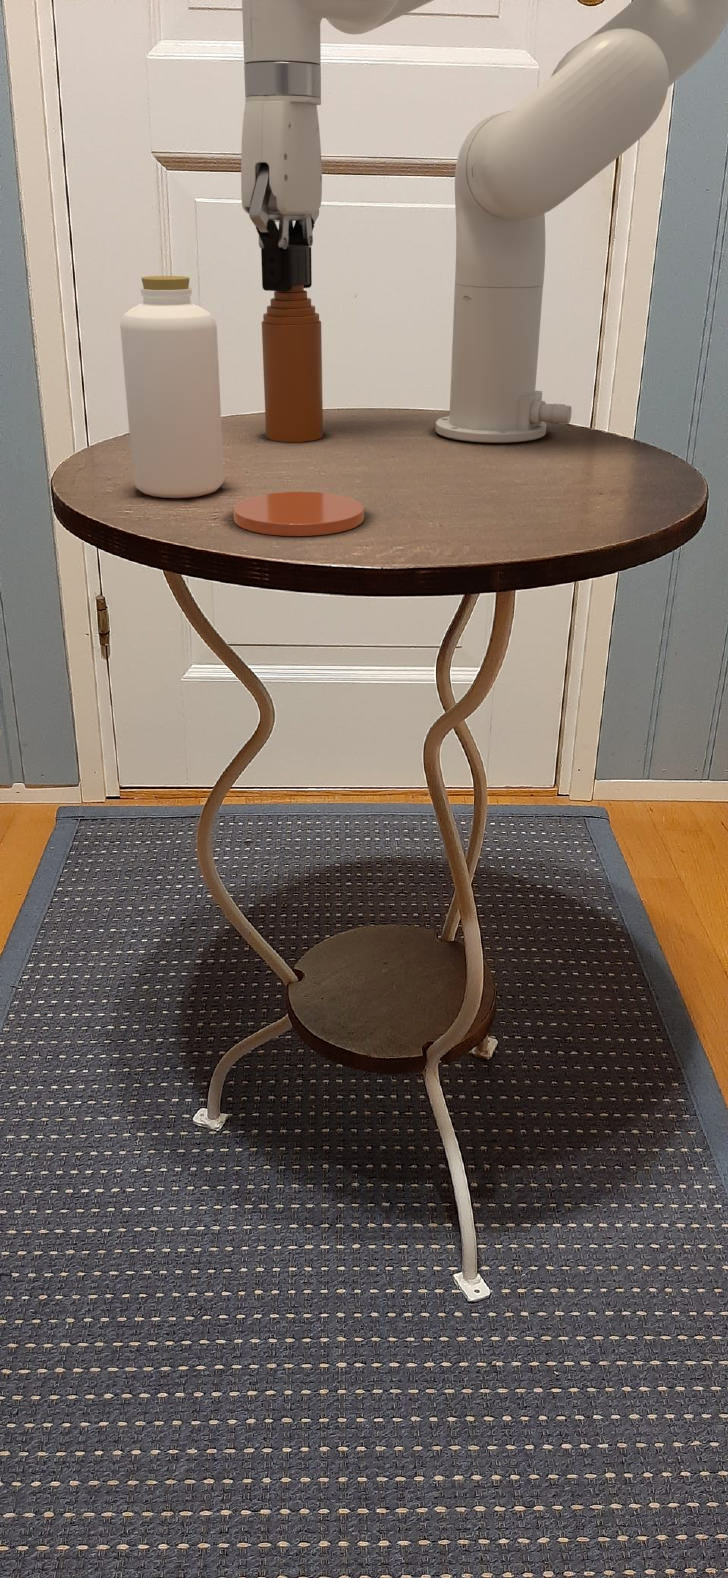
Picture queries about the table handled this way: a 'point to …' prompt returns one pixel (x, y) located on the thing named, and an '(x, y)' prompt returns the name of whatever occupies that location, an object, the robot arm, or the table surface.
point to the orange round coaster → (298, 513)
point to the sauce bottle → (292, 368)
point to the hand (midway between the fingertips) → (287, 287)
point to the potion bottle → (172, 391)
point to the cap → (300, 264)
